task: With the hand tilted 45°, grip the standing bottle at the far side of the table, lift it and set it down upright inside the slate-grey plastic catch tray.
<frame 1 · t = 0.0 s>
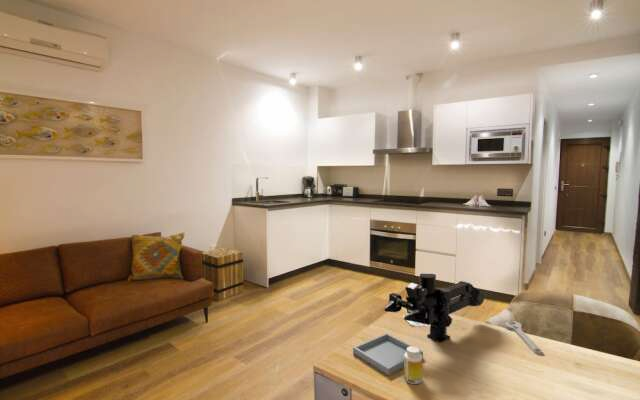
hand: (394, 314, 122), 17 cm above the table, tool horizontal, fingers open, 9 cm apart
catch tray: (387, 355, 125), on the table
adjustable wrench: (521, 338, 136), on the table
supplement bottle: (413, 380, 111), on the table
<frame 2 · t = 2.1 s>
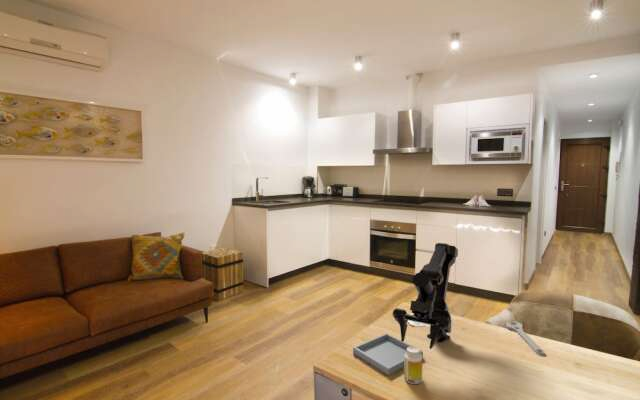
hand: (416, 344, 112), 10 cm above the table, tool tilted 45°, fingers open, 9 cm apart
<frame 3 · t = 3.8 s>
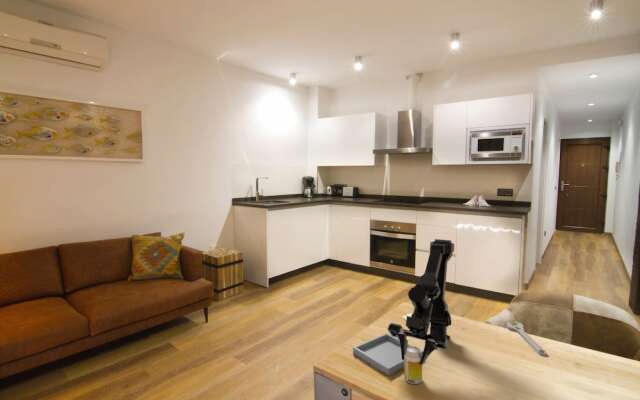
hand: (411, 362, 109), 7 cm above the table, tool tilted 45°, fingers closed on supplement bottle, 6 cm apart
supplement bottle: (413, 380, 111), on the table, touching gripper
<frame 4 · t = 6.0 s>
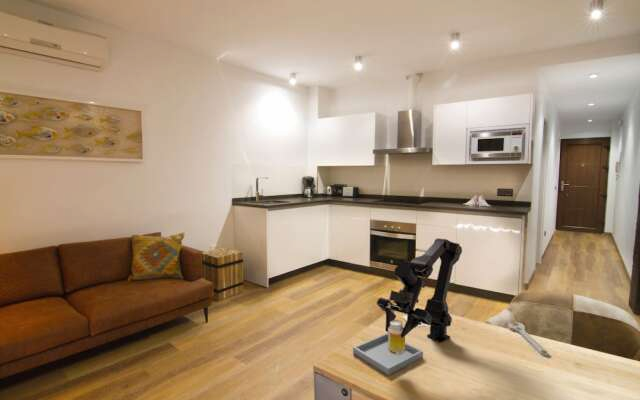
hand: (394, 334, 114), 13 cm above the table, tool tilted 45°, fingers closed on supplement bottle, 6 cm apart
supplement bottle: (396, 352, 115), point 6 cm above the table, touching gripper
when the fingers open (8 cm above the table, at t = 8.6 s): supplement bottle drops 1 cm, resting on catch tray.
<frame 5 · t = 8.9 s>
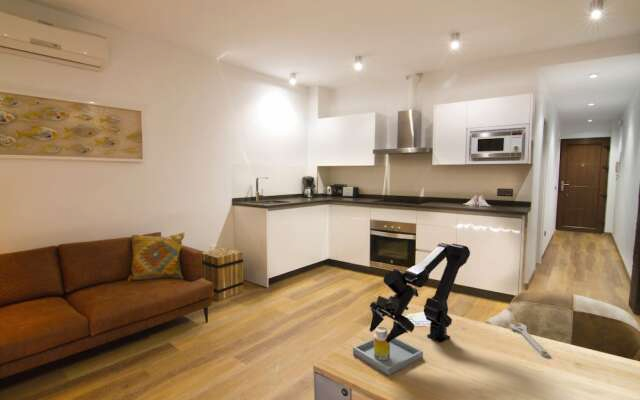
hand: (378, 336, 122), 9 cm above the table, tool tilted 45°, fingers open, 9 cm apart
supplement bottle: (381, 357, 123), resting on catch tray
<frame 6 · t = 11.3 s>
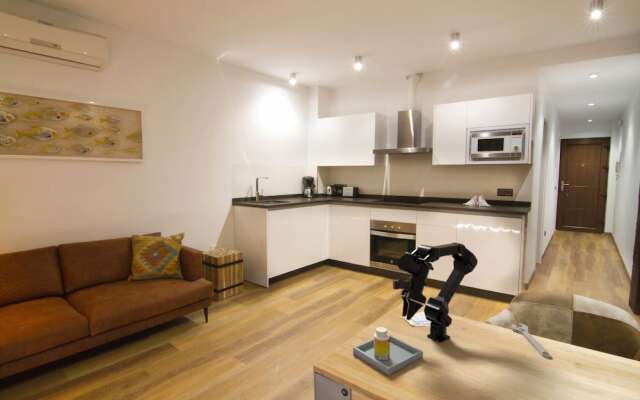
hand: (405, 318, 127), 13 cm above the table, tool tilted 25°, fingers open, 9 cm apart
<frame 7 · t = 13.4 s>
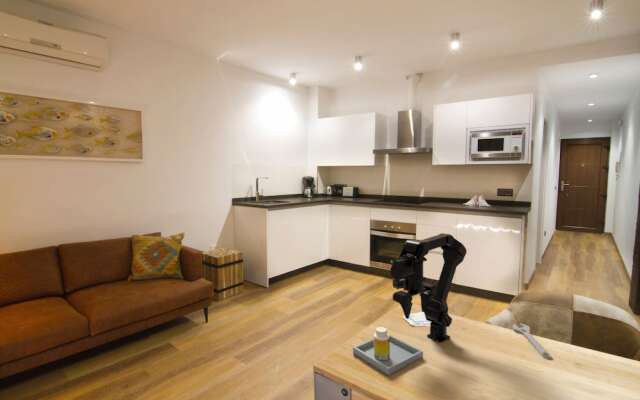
hand: (415, 315, 128), 13 cm above the table, tool pointing down, fingers open, 9 cm apart
at the end: supplement bottle inside the target area on the catch tray (2.8 cm from its centre), point 0.4 cm above the catch tray's base; supplement bottle tilted 0°; the gripper is holding nothing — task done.
